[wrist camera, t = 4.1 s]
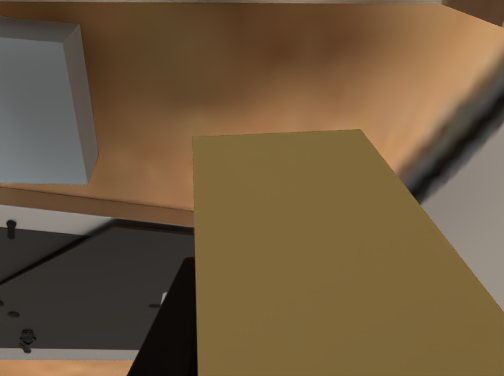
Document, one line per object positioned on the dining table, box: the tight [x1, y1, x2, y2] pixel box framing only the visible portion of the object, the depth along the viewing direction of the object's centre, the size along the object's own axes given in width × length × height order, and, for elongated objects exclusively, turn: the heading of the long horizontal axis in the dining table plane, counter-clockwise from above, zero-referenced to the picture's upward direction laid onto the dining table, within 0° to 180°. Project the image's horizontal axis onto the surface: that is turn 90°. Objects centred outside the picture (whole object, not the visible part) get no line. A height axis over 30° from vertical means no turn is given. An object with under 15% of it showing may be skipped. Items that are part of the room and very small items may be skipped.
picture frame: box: [0, 187, 195, 360], centre depth 23 cm, size 16×3×21 cm
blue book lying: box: [0, 16, 99, 185], centre depth 16 cm, size 6×6×3 cm
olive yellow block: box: [192, 129, 504, 376], centre depth 8 cm, size 4×6×6 cm, turn 178°
